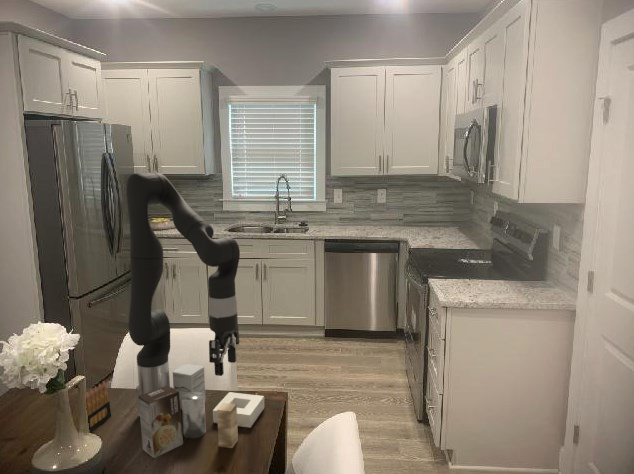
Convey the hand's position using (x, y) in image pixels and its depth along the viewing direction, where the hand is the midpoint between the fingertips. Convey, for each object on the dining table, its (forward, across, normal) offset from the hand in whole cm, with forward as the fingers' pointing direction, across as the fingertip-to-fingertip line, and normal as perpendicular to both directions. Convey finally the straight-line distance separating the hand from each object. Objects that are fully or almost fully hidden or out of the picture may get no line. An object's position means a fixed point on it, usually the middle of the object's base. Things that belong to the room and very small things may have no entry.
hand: (225, 368), depth 137 cm
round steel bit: (+22, -3, -12) cm, 25 cm away
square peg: (+22, 0, 0) cm, 22 cm away
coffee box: (+22, +6, -17) cm, 29 cm away
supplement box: (+22, -17, -21) cm, 35 cm away
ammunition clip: (+22, 0, -43) cm, 49 cm away
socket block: (+22, -15, -3) cm, 27 cm away
